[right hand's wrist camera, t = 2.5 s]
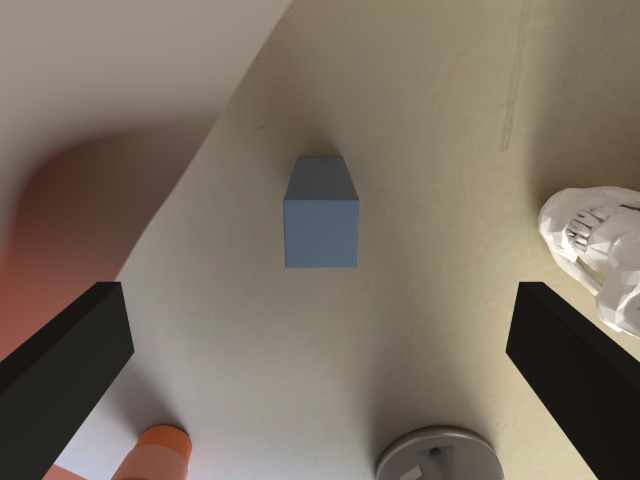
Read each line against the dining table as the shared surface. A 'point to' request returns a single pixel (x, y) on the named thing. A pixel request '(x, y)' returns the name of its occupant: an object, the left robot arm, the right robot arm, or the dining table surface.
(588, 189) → the skull
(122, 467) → the cup with straw
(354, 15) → the dining table surface
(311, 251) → the peg
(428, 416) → the dining table surface
